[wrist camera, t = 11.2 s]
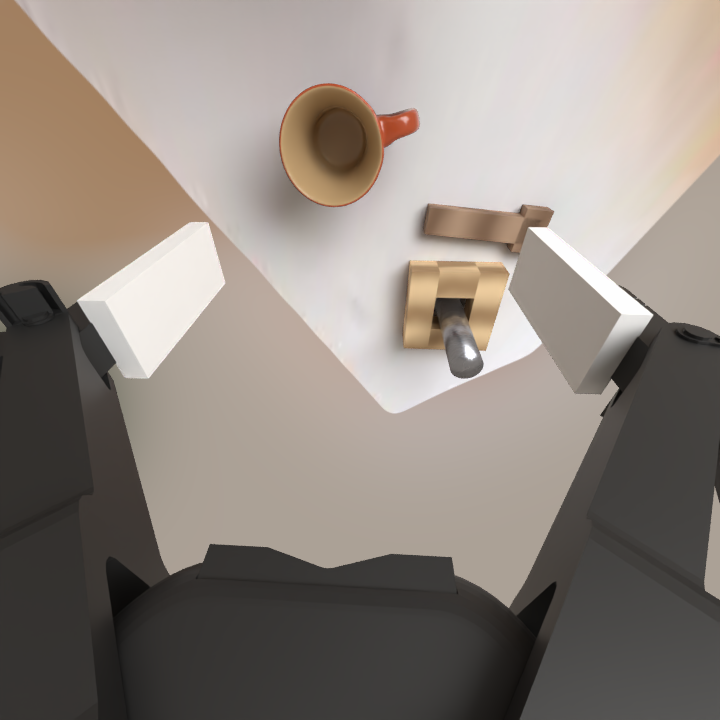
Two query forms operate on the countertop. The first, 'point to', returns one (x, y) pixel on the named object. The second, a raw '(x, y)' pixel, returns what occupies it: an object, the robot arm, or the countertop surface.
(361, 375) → the countertop surface
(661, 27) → the countertop surface
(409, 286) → the socket block
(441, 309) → the pin
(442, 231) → the bar
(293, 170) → the mug
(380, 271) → the countertop surface
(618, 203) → the countertop surface
